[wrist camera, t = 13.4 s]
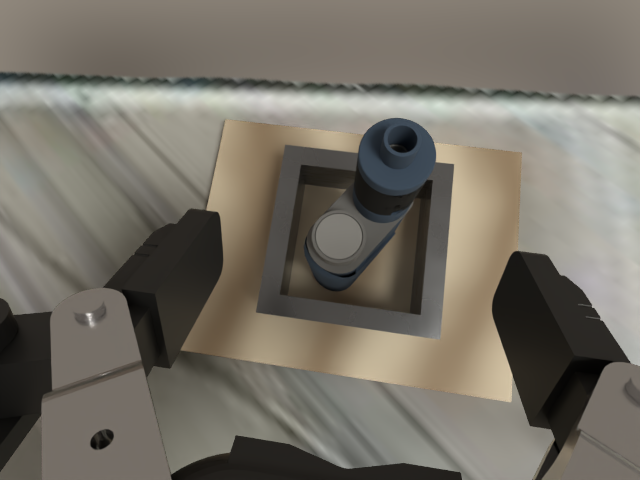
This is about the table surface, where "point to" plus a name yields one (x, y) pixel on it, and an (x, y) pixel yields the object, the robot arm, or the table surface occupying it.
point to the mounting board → (374, 282)
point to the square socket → (274, 300)
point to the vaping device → (370, 202)
